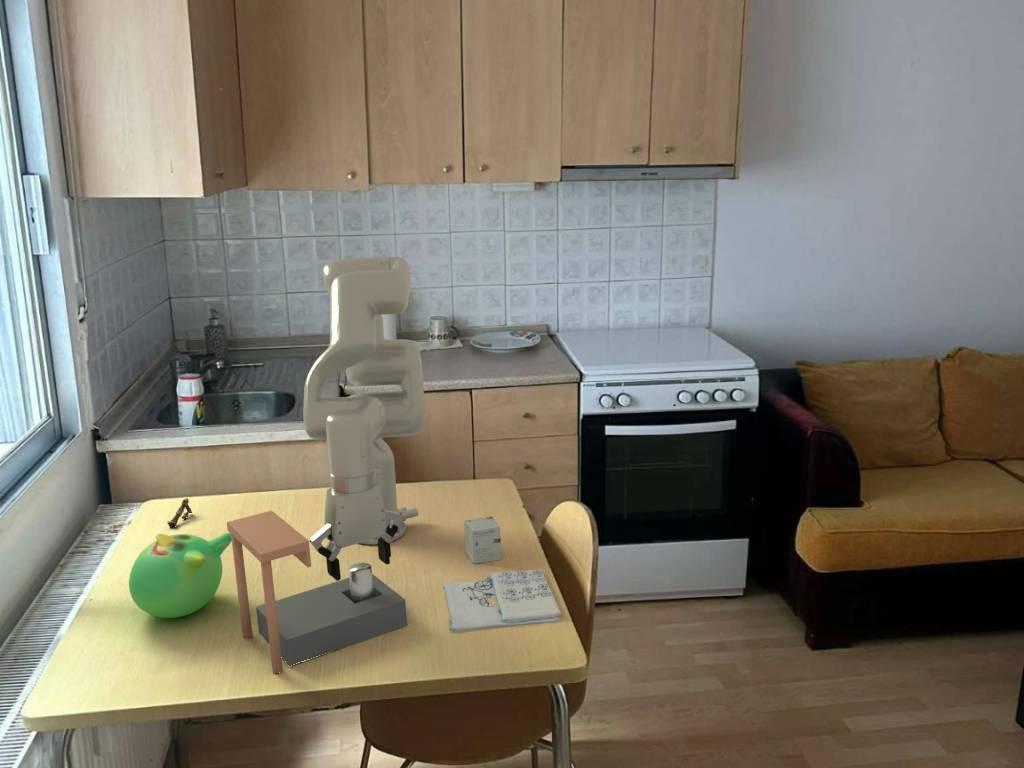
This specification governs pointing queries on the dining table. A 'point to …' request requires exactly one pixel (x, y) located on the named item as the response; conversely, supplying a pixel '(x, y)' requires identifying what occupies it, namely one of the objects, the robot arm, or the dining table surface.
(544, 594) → the folded cloth
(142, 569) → the toy bird
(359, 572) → the metal peg
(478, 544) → the skincare box
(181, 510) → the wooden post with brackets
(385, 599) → the socket plate
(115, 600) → the dining table surface
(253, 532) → the canopy
